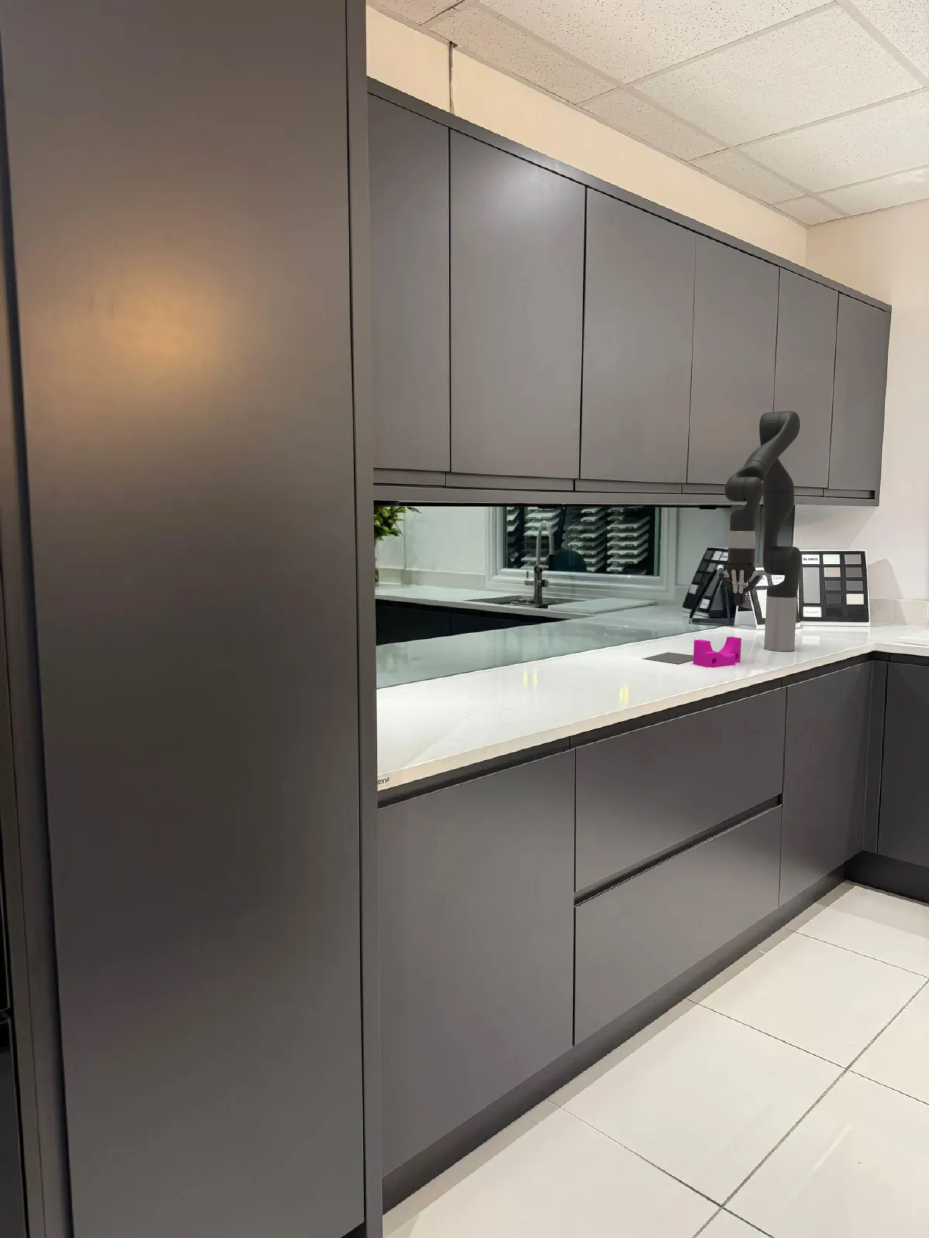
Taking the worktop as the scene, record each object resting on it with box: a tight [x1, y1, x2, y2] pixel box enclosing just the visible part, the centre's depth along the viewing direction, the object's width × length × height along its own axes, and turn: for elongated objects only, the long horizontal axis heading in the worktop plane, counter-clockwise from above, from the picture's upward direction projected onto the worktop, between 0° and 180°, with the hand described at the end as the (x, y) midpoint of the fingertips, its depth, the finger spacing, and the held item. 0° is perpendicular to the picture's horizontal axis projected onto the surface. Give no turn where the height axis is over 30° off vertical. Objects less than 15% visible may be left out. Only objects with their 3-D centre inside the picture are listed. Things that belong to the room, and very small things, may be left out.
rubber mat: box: [642, 651, 694, 665], centre depth 260 cm, size 16×12×1 cm
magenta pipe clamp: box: [692, 636, 742, 668], centre depth 252 cm, size 15×6×8 cm, turn 119°
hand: (739, 605), depth 254 cm, fingers closed
